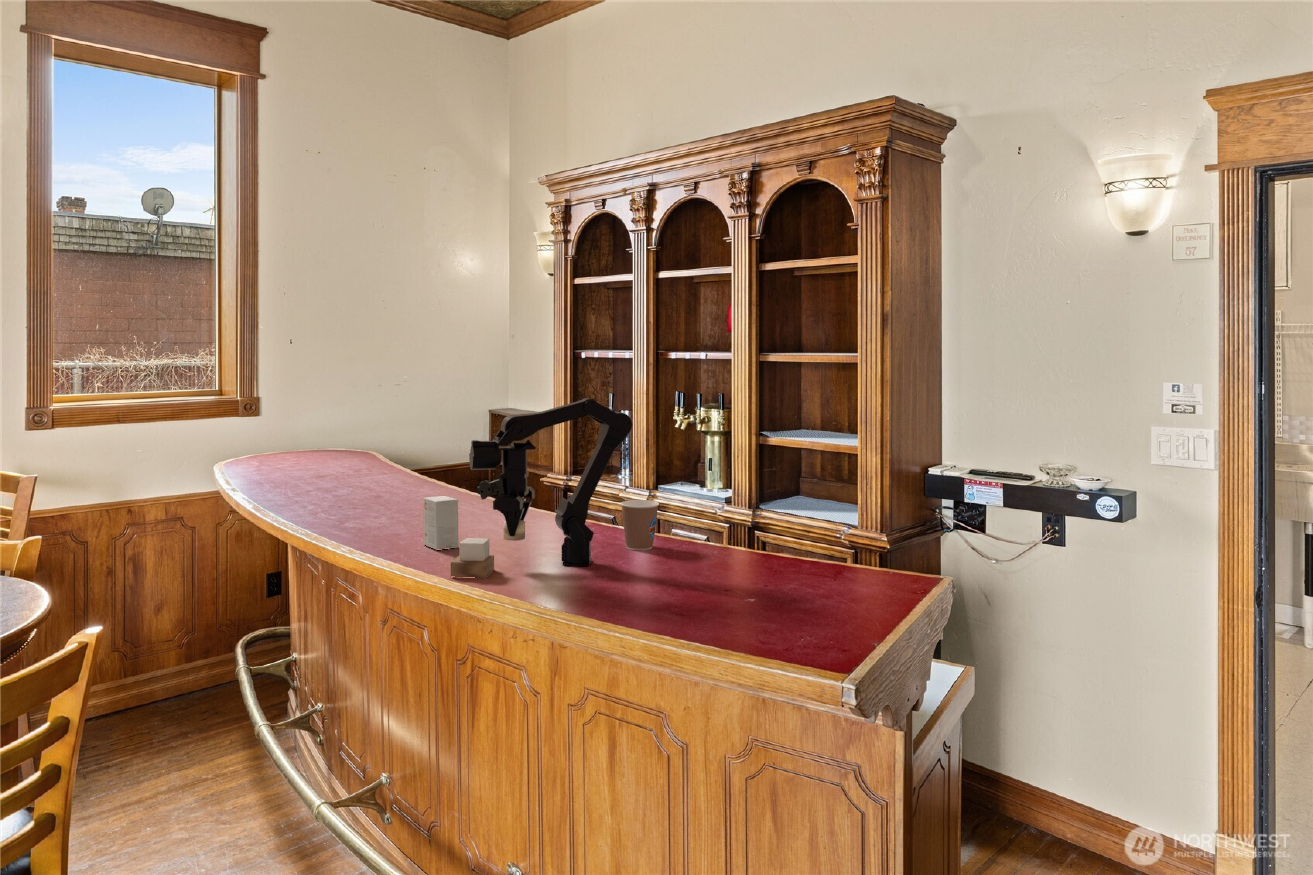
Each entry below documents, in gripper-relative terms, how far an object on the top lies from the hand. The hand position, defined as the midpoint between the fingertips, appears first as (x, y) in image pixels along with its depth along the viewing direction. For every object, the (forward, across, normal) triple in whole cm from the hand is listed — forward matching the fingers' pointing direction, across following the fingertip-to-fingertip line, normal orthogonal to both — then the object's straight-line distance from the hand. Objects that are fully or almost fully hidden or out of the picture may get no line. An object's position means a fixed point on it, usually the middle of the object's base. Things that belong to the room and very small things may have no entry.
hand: (514, 533), depth 198 cm
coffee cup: (+8, -25, +28) cm, 39 cm away
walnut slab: (+9, +6, -8) cm, 14 cm away
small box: (+8, -20, -24) cm, 32 cm away
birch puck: (+1, 0, 0) cm, 1 cm away
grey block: (+5, +6, -8) cm, 11 cm away
